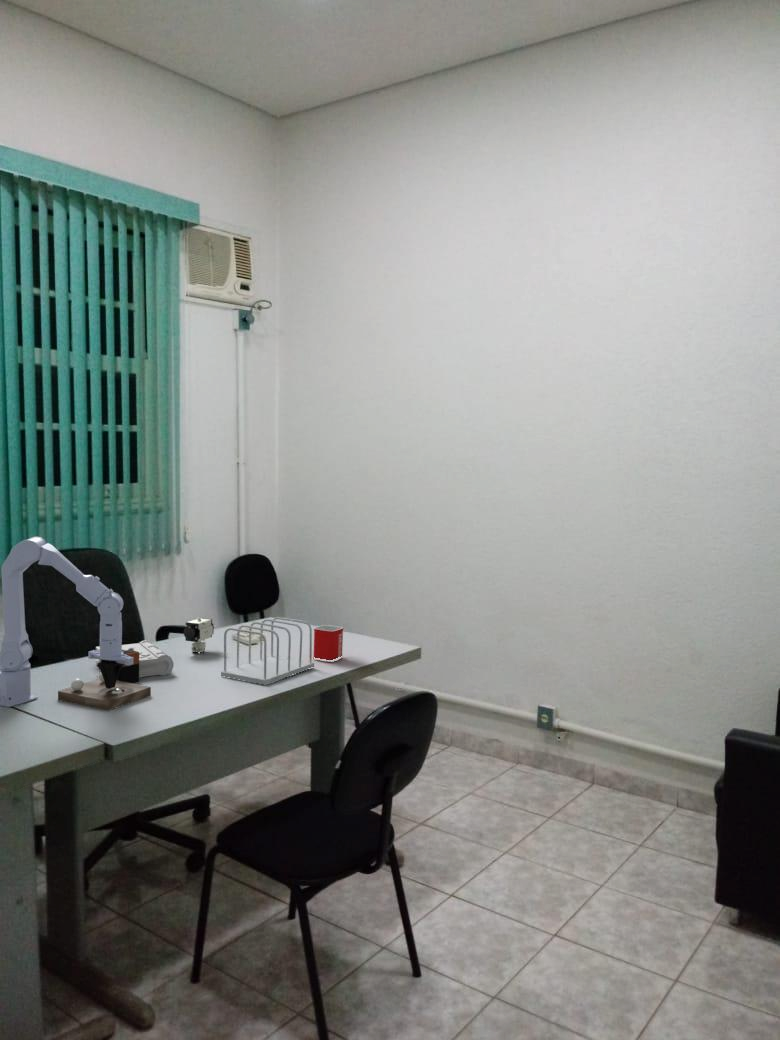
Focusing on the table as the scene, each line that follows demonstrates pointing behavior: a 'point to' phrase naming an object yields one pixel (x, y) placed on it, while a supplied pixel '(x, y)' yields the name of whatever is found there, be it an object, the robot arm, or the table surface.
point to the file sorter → (268, 666)
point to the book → (149, 659)
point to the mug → (328, 642)
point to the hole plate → (104, 694)
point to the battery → (130, 668)
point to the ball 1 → (77, 684)
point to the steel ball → (116, 691)
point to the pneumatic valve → (198, 633)
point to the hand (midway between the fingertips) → (110, 687)
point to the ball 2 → (101, 677)
